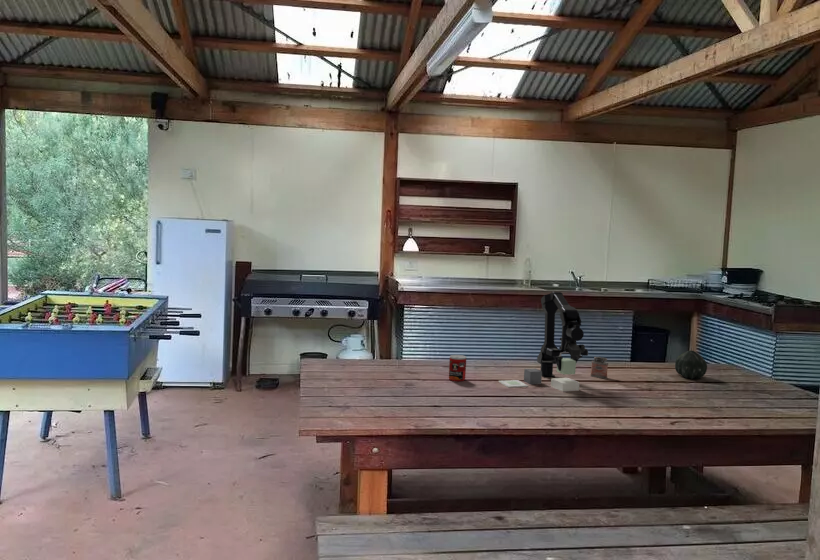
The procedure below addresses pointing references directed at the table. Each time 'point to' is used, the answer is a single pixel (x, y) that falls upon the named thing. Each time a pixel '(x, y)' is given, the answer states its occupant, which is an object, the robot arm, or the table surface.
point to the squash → (691, 365)
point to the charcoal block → (532, 376)
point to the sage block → (567, 366)
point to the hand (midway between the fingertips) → (565, 370)
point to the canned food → (457, 368)
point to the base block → (565, 384)
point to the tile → (513, 383)
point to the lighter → (599, 367)
